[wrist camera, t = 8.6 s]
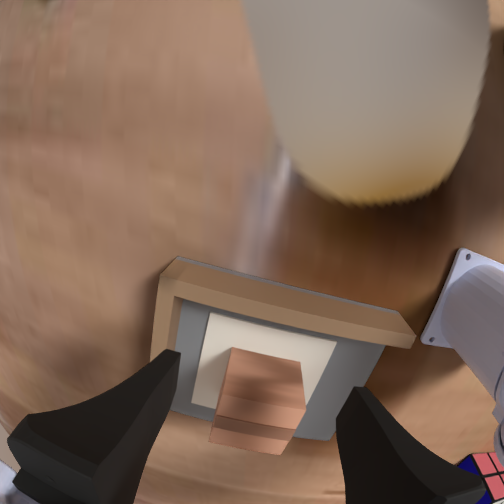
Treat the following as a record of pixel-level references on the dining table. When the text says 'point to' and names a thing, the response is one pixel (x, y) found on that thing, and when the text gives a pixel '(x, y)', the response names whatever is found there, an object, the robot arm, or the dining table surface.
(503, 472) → the puzzle cube
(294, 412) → the block
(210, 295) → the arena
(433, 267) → the dining table surface
